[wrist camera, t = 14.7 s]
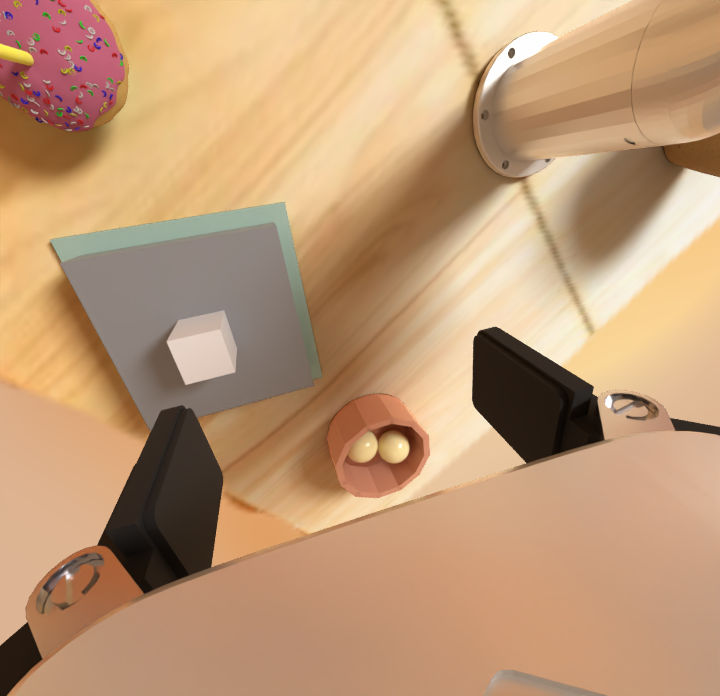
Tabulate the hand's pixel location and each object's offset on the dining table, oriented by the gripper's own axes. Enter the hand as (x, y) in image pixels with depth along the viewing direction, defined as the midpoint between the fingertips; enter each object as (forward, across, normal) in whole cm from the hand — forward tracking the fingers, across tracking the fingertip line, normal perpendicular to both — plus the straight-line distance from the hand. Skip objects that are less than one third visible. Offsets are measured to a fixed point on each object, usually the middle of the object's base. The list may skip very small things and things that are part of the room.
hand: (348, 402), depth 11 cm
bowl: (+27, -5, +26) cm, 38 cm away
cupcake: (+28, +12, -16) cm, 34 cm away
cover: (+26, +10, +5) cm, 29 cm away
